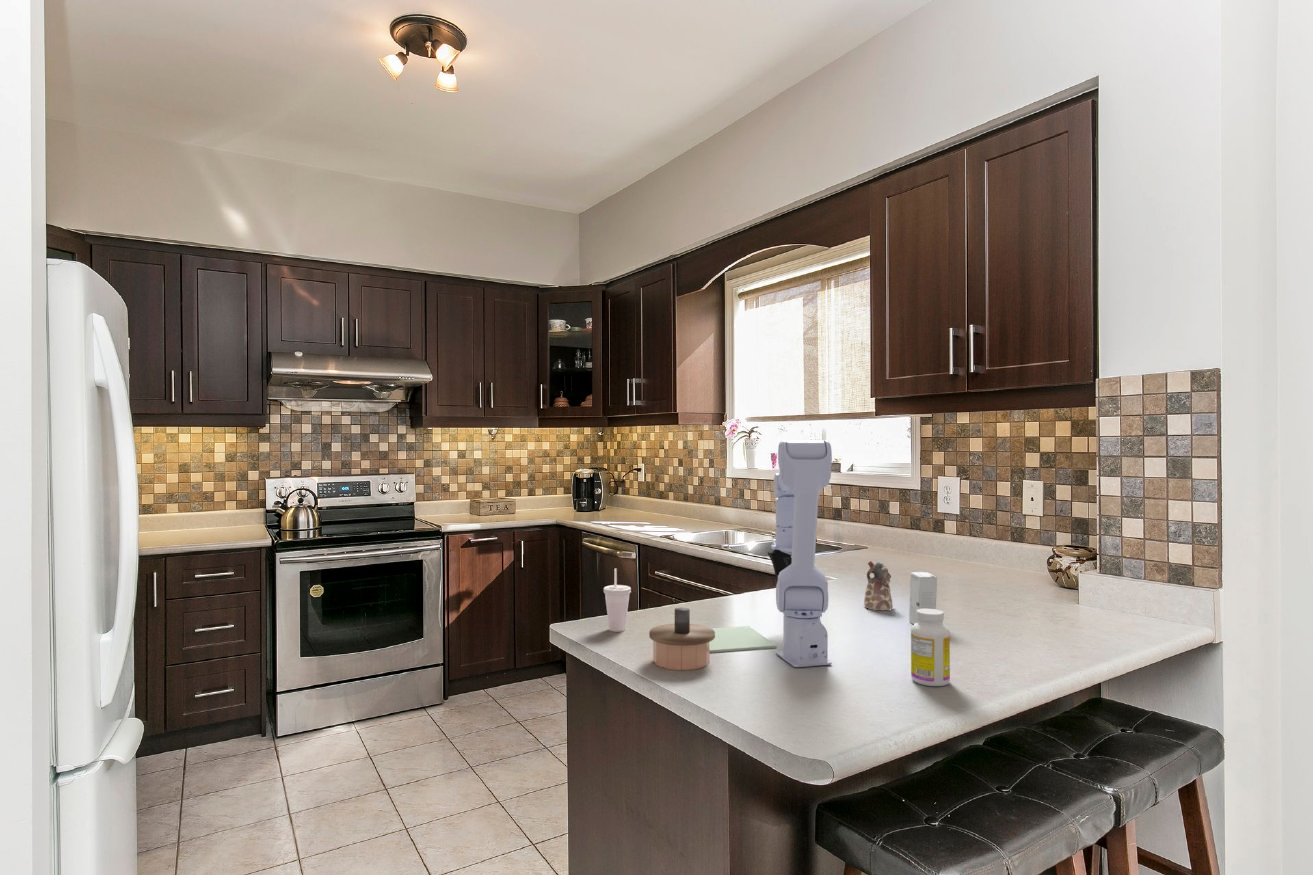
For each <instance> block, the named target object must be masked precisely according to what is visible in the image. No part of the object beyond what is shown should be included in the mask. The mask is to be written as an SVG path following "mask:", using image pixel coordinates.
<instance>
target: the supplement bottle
mask: <svg viewBox="0 0 1313 875" xmlns="http://www.w3.org/2000/svg"><path fill="white" fill-rule="evenodd" d="M944 614H945V613H944V611H943V610H939V609H937V608H936V609H918V610H917V611H916V617H917V619H918V622H917V623H915V624H914V625H913V624H912V626H911V627H910V662H911V663H910V671H911V672H910V673H911V674H910V676H911V679H912V681H913V682H915V683H916V684H919V685H922V686H925V687H943V686H946V685H948V684H949V683H950V681H951V680H950V679H951V678H950V677H951V676H950V675H951V667H950V666H951V660H950V659H951V658H950V657H951V652H950V650H951V649H950V645H951V643H950V641H951V640H950V638H951V633H950V630H949V629H950V628H949V627H947V625H944V623H943V622H944V619H945V615H944Z"/></svg>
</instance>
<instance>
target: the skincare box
mask: <svg viewBox="0 0 1313 875" xmlns="http://www.w3.org/2000/svg"><path fill="white" fill-rule="evenodd" d="M909 584H910V585H909V611H908V613H909V614H908V616H909V618H908V621H909V623H911V624H912V623H913V624H915V623H917V622H918V619H917V617H916V611H917V610H918V609H936V610H937V594H938V593H937V590H938V577H937V576H936V575H934V574H932V573H930V572H926V571H914V572H910V583H909ZM913 624H912V625H913Z"/></svg>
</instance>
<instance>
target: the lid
mask: <svg viewBox="0 0 1313 875" xmlns="http://www.w3.org/2000/svg"><path fill="white" fill-rule="evenodd" d="M690 611H691V610H690V608H688V607H676V608H674V623H668V624H662V625H658V626H655V627H653V628H651V629H650V630H649V633H648V635H649V636H648V637H649V638H650V639H651V640H652V642H653V641H656V642H659V643H662V644H668V645H680V646H687V645H699V644H704V643H708V642H710V641H712V640H713V639H714V638H715V631H714V630H713V629H712V627H708V626H705V625H701V624H694V623H691V622H690V620H691V619H690V618H691V617H690V616H691V615H690V613H691V612H690Z"/></svg>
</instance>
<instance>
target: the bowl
mask: <svg viewBox="0 0 1313 875" xmlns="http://www.w3.org/2000/svg"><path fill="white" fill-rule="evenodd" d="M652 646H653V648H652V654H653V655H652V661H653V663H654V662H655V663H654V664H655V666H657V665H658V666H657V667H661V668H663V667H664V668H663V669H666V670H674V671H689V670H691V669H692V670H698V669H701V668H704V667H707V665H708V664H709V663H710V653H709V642H708V643H704V644H699V645H687V646H680V645H668V644H662V643H659V642H656V641H653V640H652Z"/></svg>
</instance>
